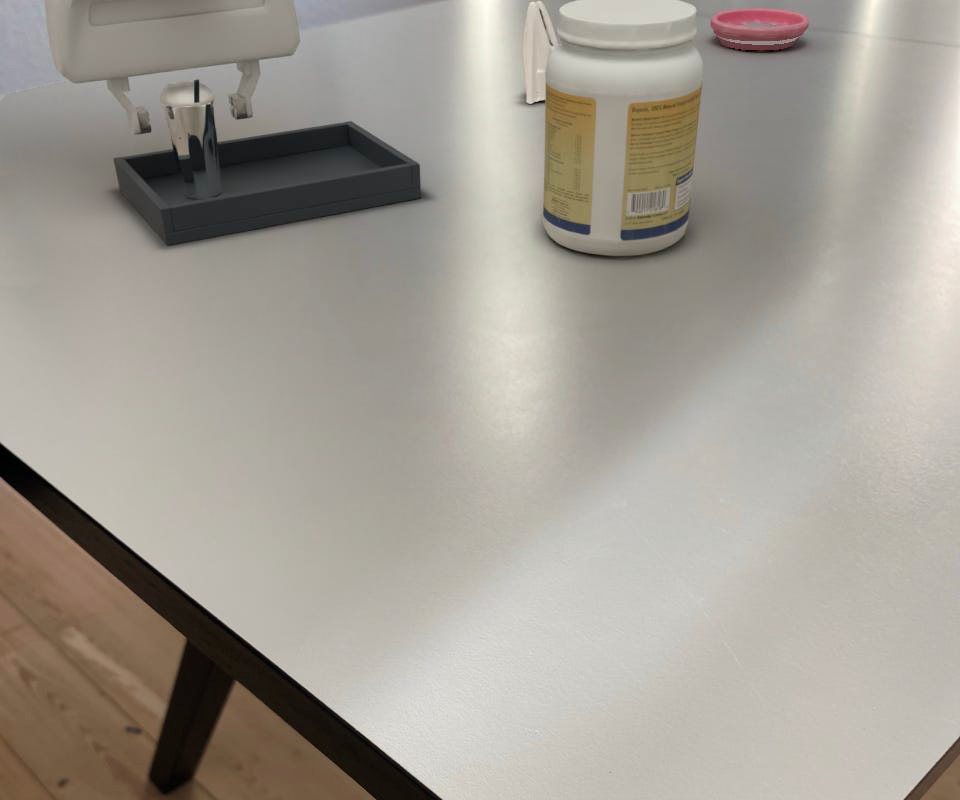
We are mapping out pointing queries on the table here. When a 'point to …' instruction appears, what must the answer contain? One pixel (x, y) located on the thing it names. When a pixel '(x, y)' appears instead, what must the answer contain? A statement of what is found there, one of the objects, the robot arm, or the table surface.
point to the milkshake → (193, 136)
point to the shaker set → (537, 50)
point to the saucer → (730, 20)
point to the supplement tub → (621, 125)
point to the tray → (271, 182)
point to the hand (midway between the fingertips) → (192, 124)
